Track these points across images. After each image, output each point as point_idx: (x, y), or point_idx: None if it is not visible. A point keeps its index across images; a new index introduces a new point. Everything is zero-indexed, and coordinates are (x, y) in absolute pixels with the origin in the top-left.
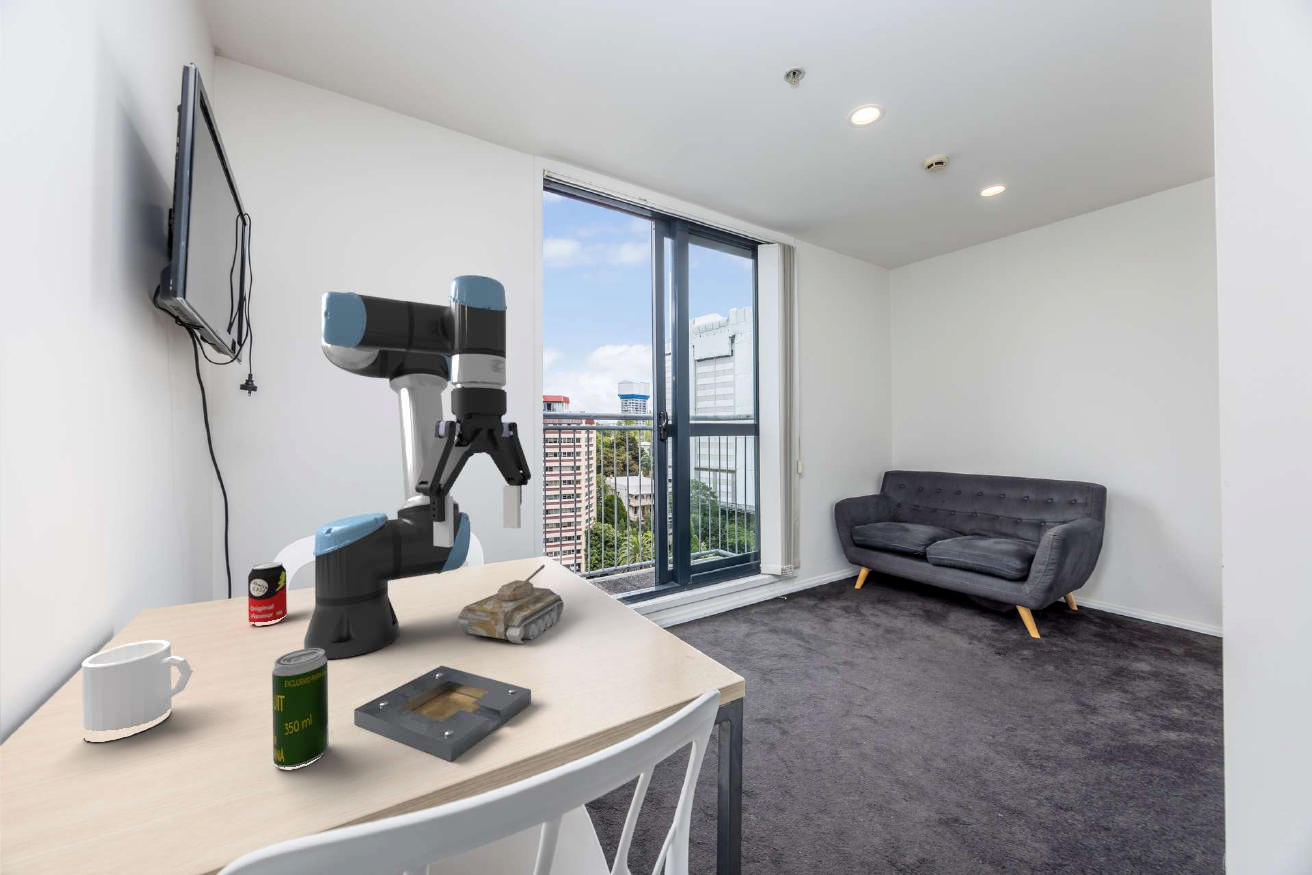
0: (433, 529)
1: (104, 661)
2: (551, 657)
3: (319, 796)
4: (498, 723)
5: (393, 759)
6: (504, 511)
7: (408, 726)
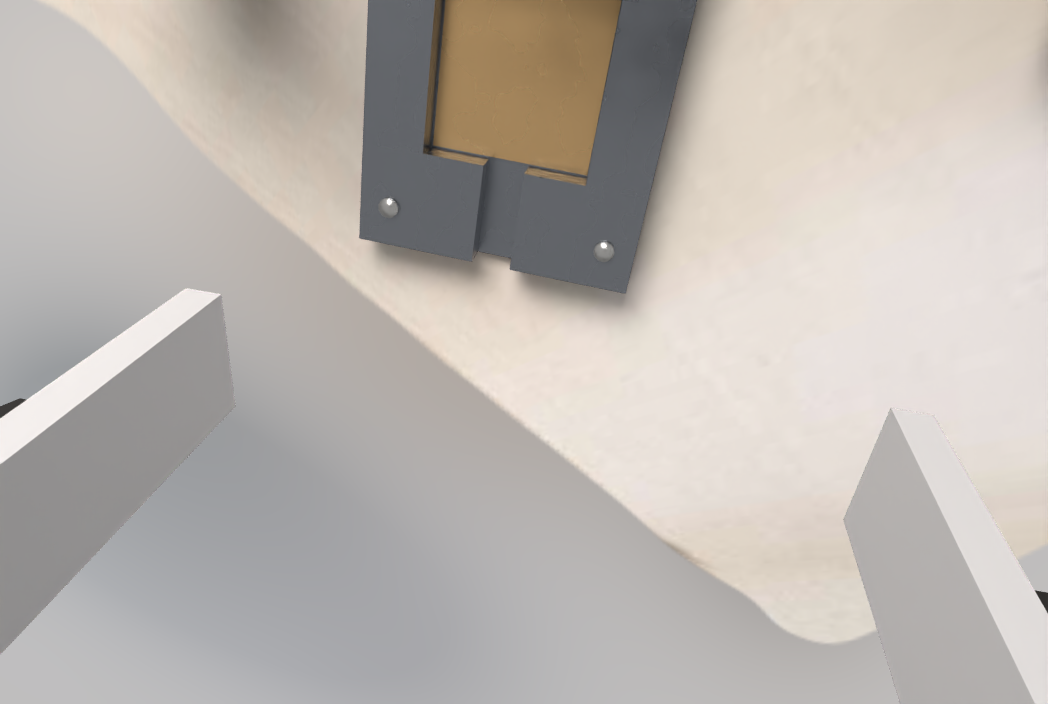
0: (115, 338)
1: None
2: (938, 202)
3: (187, 30)
4: (509, 256)
5: (329, 90)
6: (927, 509)
7: (374, 80)
